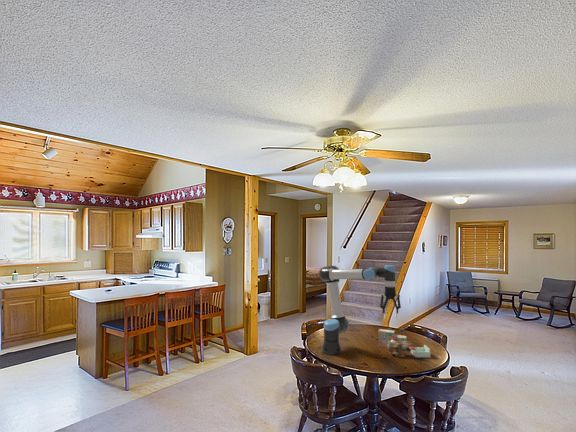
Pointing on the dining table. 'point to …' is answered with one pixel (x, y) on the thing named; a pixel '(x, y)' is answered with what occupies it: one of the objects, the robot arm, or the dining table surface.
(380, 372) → the dining table surface
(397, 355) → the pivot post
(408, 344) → the mottled brown lumpy cluster
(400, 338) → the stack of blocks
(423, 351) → the pale green open box
